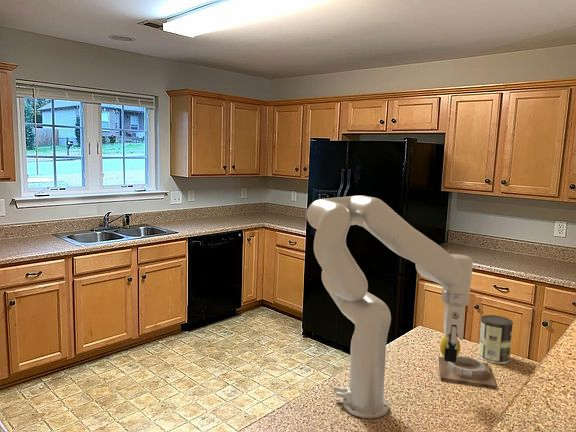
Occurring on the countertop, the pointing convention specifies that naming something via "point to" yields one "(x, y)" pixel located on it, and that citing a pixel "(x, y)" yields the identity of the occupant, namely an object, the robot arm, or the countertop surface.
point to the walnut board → (450, 377)
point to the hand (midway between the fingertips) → (449, 356)
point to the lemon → (444, 343)
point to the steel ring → (467, 372)
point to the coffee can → (495, 339)
